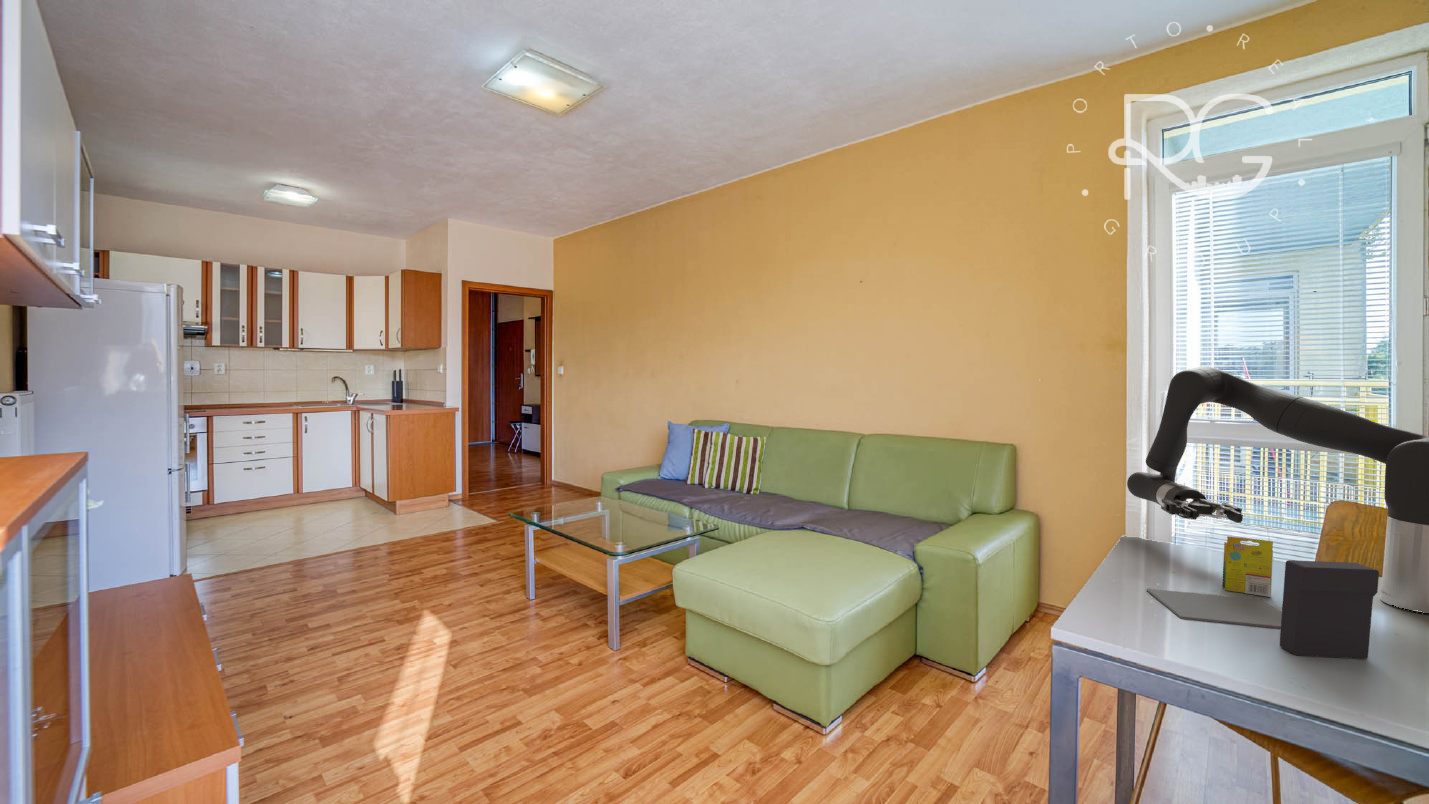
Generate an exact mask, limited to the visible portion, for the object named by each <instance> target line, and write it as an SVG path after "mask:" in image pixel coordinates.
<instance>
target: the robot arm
mask: <svg viewBox="0 0 1429 804" xmlns="http://www.w3.org/2000/svg"><path fill="white" fill-rule="evenodd" d="M1165 399H1166V400H1165V404H1164V408H1163V412H1162V415H1161V421H1160V424H1159V427H1158V430H1157V433H1156V435H1155V438H1154V440H1153V442H1152V444H1151V447H1150V449H1149V451H1148V452H1147V455H1146V459H1145V465H1146V466H1147V467H1148V468H1150V470H1153V471H1155V472H1158V473H1159V474H1156V473H1151V472H1144V471H1136V472H1134V473H1132V474H1130V475H1129V477H1128V479H1127V481H1126V486H1127V489H1128V491H1129V493H1131V495H1132V496H1135V497H1136V498H1138V499H1139V498H1140V499H1142V500H1146V501H1150V502H1152V503H1156V504H1157V505H1159V506H1160V509H1161V510H1162V511H1164V512H1166V513H1167V514H1169V515H1171V516H1174V515H1176V516H1178V517H1179V518H1183V519H1187V520H1197V518H1199V517H1209V518H1214V519H1222V518H1223V519H1227V520H1229V521H1231V522H1234V523H1237V524H1241V523H1242V522H1243V518H1244V517H1243V516H1244V515H1243V514H1242V511H1243V509H1242V508H1241V507H1238V506H1235V505H1232V504H1230V503H1228V502H1221V503H1220V502H1219V503H1218V502H1214V501H1210V500H1209V499H1208V498H1206V496H1205V495H1204V494H1203V493H1202V492H1201V491H1199V490H1196V489H1194V488H1192V487H1189V486H1188V485H1185V484H1181V483H1177V482H1176V477H1177V476H1176V475H1177V469H1178V466H1179V464H1180V462H1181V459H1182V457H1183V456H1184V454H1185V451H1186V448H1187V445H1188V444H1187V443H1188V426H1189V422H1190V419H1191V418H1192V416H1193V414H1194V412H1195V411H1196V409H1197V408H1198V407H1199V406H1200V405H1202V404H1206V403H1214V404H1219V405H1222V406H1226V407H1230V408H1233V409H1236V410H1239V411H1241V412H1243V413H1245V414H1246V415H1248V416H1250V417H1251V418H1252V419H1254V421H1256V423H1259V424H1260V425H1261V426H1263V427H1264V428H1266V429H1268V430H1270V431H1272V432H1274V433H1277V434H1279V435H1281V436H1282V435H1283V436H1285V437H1287V438H1289V439H1293V440H1295V441H1299V442H1302V443H1304V444H1308V445H1312V446H1318V447H1321V448H1327V449H1331V450H1335V451H1340V452H1345V453H1350V454H1355V455H1359V456H1362V457H1364V458H1365V457H1366V458H1369V459H1372V460H1374V461H1377V462H1380V463H1382V464H1385V468H1384V494H1383V495H1384V496H1383V497H1384V502H1385V504H1386V505H1385V506H1386V507H1387V519H1386V529H1385V530H1386V533H1385V541H1384V542H1385V543H1384V553H1383V565H1382V576H1381V577H1382V578H1381V590H1380V601H1382V602H1383V603H1385V604H1388V605H1390V606H1392V605H1394V606H1393V607H1395V606H1396V607H1395V608H1398V607H1399V609H1402V608H1404V609H1403V610H1405V608H1406V609H1409V610H1418V611H1422V612H1424V613H1429V435H1425V434H1420V433H1417V432H1412V431H1407V430H1404V429H1399V428H1395V427H1391V426H1388V425H1384V424H1381V423H1378V422H1376V421H1374V420H1371V419H1368V418H1364V417H1362V416H1360V415H1357V414H1354V413H1351V412H1348V411H1345V410H1343V409H1340V408H1337V407H1334V406H1331V405H1328V404H1326V403H1324V402H1323V403H1322V402H1319V401H1317V400H1313V399H1309V398H1306V397H1303V396H1300V395H1295V394H1292V393H1288V392H1286V391H1282V390H1278V389H1276V388H1275V389H1274V388H1273V387H1267V386H1264V385H1260V384H1256V383H1255V382H1254V383H1253V382H1250V381H1248V380H1245V379H1242V378H1240V377H1238V376H1236V375H1233V374H1232V373H1229V372H1226V371H1223V370H1221V369H1219V368H1216V367H1212V366H1198V367H1197V366H1196V367H1191V368H1188V369H1184V370H1181V371H1179V372H1177V373H1176V374H1175V375H1174V376H1172V378H1171V380H1170V383H1169V386H1168V390H1167V393H1166V398H1165ZM1214 513H1215V514H1214ZM1409 610H1408V611H1409Z"/></svg>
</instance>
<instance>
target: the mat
mask: <svg viewBox="0 0 1429 804" xmlns="http://www.w3.org/2000/svg"><path fill="white" fill-rule="evenodd" d="M1145 590H1147V591H1146V592H1148V594H1150V593H1151V594H1152V595H1151V594H1150V595H1151V596H1152V597H1154V598H1155V599H1156V600H1157V601H1158V602H1159V603H1161V604H1162V603H1163V605H1164V607H1166V608H1167V609H1168V610H1170V611H1171V612H1172V613H1173V614H1175V615H1176V616H1177V617H1178V618H1179V619H1182V620H1183V619H1184V620H1193V621H1203V622H1211V623H1212V622H1214V623H1224V624H1232V625H1233V624H1234V625H1243V626H1251V627H1261V628H1262V627H1263V628H1271V629H1272V628H1273V629H1280V630H1281V618H1282V610H1281V609H1279V608H1277V607H1275V606H1274V605H1272V604H1270V603H1268V602H1267V601H1265V600H1264V599H1263V598H1252V597H1241V596H1231V595H1220V594H1209V593H1199V592H1198V593H1197V592H1188V591H1187V592H1186V591H1177V590H1166V589H1152V588H1146V589H1145Z"/></svg>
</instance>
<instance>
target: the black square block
mask: <svg viewBox="0 0 1429 804" xmlns="http://www.w3.org/2000/svg"><path fill="white" fill-rule="evenodd" d="M1379 577H1380V572H1379V570H1378V569H1375V568H1372V567H1369V566H1367V565H1364V564H1361V563H1358V562H1350V561H1349V562H1348V561H1347V562H1346V561H1322V560H1321V561H1318V560H1296V559H1295V560H1291V559H1290V560H1286V561H1285V566H1284V577H1283V578H1284V580H1283V581H1284V582H1283V593H1282V609H1281V611H1282V618H1281V629H1280V632H1279V633H1280V634H1279V636H1280V637H1279V647H1281V648H1282V649H1284V650H1285V651H1287V652H1288V653H1290V654H1293V655H1295V656H1297V657H1298V656H1300V657H1301V656H1302V657H1318V658H1321V657H1322V658H1338V659H1339V658H1340V659H1343V658H1344V659H1359V660H1366V659H1368V658H1369V651H1370V650H1369V649H1370V639H1371V638H1370V637H1371V624H1372V614H1373V603H1374V602H1373V601H1374V598H1375V596H1376V595H1377V593H1378V589H1379V588H1378V587H1379V580H1380V579H1379Z"/></svg>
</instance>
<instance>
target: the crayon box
mask: <svg viewBox="0 0 1429 804" xmlns="http://www.w3.org/2000/svg"><path fill="white" fill-rule="evenodd" d="M1241 542H1251V543H1255V544H1256V543H1257V544H1259V545H1255V544H1253V545H1251V544H1246V543H1241ZM1223 544H1224V546H1223V561H1222V562H1223V564H1222V565H1223V566H1222V583H1221V586H1222V588H1223V590H1224V591H1227V592H1235V593H1241V594H1243V593H1244V594H1247V595H1249V594H1250V595H1256V596H1261V597H1266V598H1272V579H1273V578H1272V576H1273V575H1272V574H1273V557H1274V554H1273V553H1274V550H1273V548H1274V547H1273V546H1274V541H1272V540H1263V539H1257V538H1256V539H1255V538H1247V537H1246V538H1245V537H1238V536H1230V535H1229V536H1227V541H1224V543H1223Z"/></svg>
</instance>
